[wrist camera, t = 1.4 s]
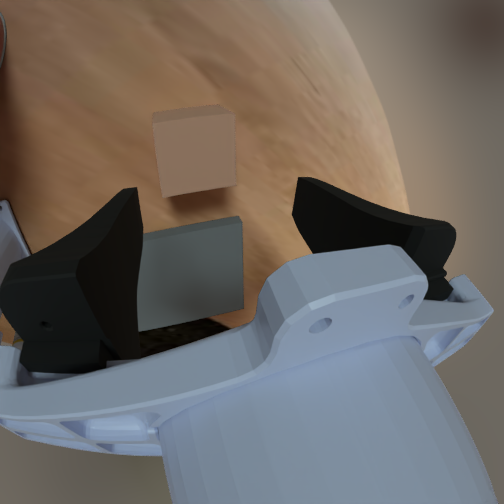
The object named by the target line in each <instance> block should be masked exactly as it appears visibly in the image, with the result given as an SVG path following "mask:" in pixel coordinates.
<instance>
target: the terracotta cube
mask: <svg viewBox="0 0 504 504" xmlns="http://www.w3.org/2000/svg"><path fill="white" fill-rule="evenodd" d="M152 125H153V134H154V143H155V151H156V158H157V165H158V172H159V179H160V185H161V192H162V198H165V197H170V196H175V195H181V194H186V193H192V192H198V191H204V190H210V189H216V188H223V187H230V186H236V146H235V113H233V112H231V111H229V110H228V109H226V108H224V107H222V106H220V105H218V104H217V105H206V106H196V107H188V108H180V109H173V110H166V111H160V112H154V113H153V121H152Z"/></svg>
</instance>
